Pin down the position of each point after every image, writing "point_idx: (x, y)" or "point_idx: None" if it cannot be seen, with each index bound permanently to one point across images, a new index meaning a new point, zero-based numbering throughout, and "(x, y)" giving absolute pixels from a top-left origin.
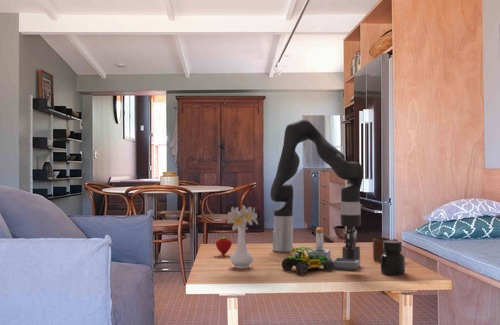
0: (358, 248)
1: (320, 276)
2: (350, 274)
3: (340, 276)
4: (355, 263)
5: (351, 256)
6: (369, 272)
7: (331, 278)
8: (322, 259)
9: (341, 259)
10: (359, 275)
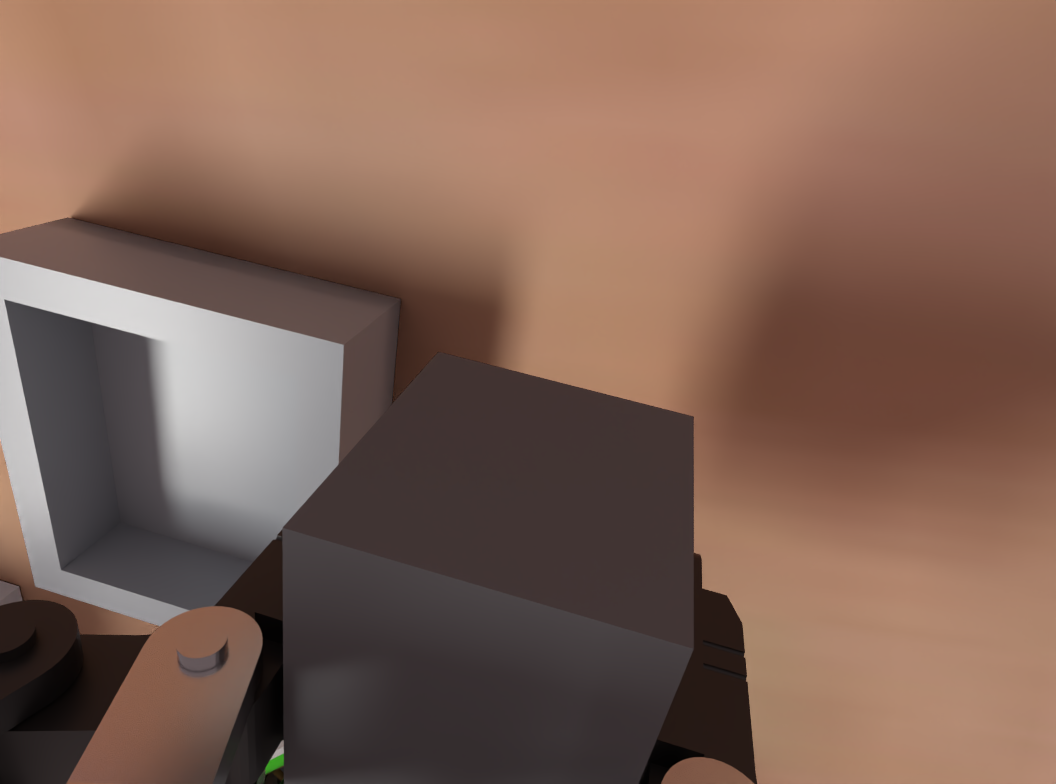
0: (652, 623)
1: (849, 777)
2: (713, 430)
3: (860, 578)
4: (349, 363)
5: (742, 631)
6: (516, 90)
7: (991, 696)
8: (280, 761)
9: (70, 511)
10: (790, 301)
